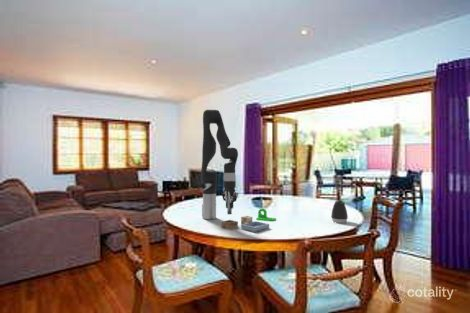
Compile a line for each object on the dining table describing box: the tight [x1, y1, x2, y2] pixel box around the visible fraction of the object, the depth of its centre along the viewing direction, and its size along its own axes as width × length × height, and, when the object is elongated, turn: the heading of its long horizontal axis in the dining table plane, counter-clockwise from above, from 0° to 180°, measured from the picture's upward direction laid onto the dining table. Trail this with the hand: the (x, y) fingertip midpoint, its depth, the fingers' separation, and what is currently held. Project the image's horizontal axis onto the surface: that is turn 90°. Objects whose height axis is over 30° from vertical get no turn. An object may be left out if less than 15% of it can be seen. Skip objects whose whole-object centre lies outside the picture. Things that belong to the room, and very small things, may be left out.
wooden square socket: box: [221, 219, 239, 231], centre depth 180 cm, size 7×7×4 cm
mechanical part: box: [256, 207, 277, 222], centre depth 201 cm, size 12×6×8 cm, turn 67°
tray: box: [240, 220, 270, 234], centre depth 177 cm, size 11×13×3 cm
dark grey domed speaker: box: [330, 199, 349, 224], centre depth 194 cm, size 10×10×15 cm
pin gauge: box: [226, 194, 233, 215], centre depth 180 cm, size 3×3×12 cm
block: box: [240, 215, 253, 226], centre depth 185 cm, size 5×5×6 cm
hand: (229, 208), depth 180 cm, fingers closed on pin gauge, 2 cm apart
